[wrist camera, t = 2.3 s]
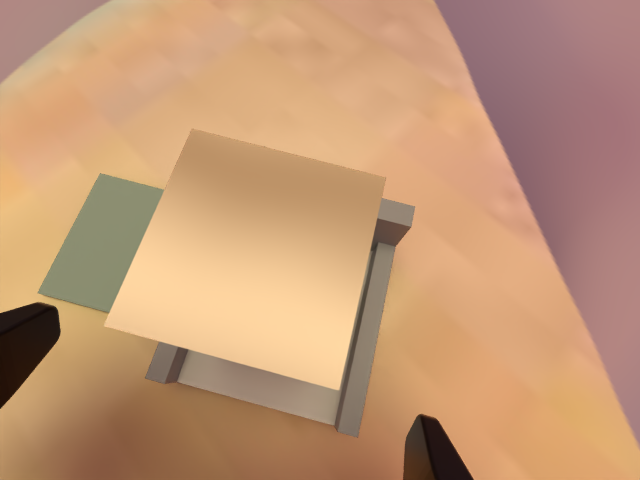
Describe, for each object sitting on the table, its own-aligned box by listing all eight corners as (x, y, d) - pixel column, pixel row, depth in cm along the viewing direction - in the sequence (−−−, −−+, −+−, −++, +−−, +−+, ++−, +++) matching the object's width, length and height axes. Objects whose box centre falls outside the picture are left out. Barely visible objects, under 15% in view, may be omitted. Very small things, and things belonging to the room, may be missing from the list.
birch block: (316, 375, 16) (339, 390, 7) (218, 348, 16) (103, 325, 7) (339, 278, 17) (385, 177, 8) (249, 255, 18) (191, 128, 8)
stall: (346, 423, 17) (369, 452, 12) (174, 375, 18) (114, 381, 12) (382, 250, 20) (415, 206, 15) (234, 212, 20) (209, 154, 15)
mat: (174, 330, 18) (171, 329, 18) (42, 294, 18) (37, 293, 18) (221, 207, 21) (219, 204, 20) (103, 176, 21) (100, 173, 20)
